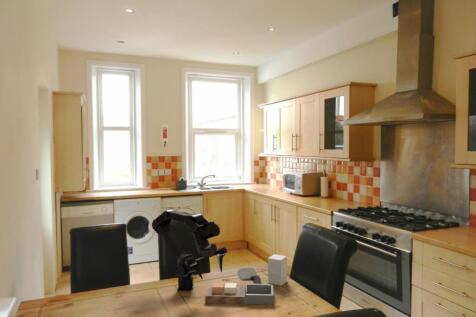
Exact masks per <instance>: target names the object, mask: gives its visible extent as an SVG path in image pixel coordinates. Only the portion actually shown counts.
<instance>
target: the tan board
mask: <svg viewBox="0 0 476 317" xmlns="http://www.w3.org/2000/svg"><path fill="white" fill-rule="evenodd" d="M212 286H213V284H209V285H208V287H207V290H206V293H205V295H204V303H205V304H234V305H235V304H237V305H245V304H246V294H247V285H237V290H236V293H224V292H223V293H212Z"/></svg>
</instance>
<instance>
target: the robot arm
mask: <svg viewBox="0 0 476 317" xmlns="http://www.w3.org/2000/svg"><path fill="white" fill-rule="evenodd" d="M173 221H176V222H180V223H183V224H184V225H185V226H186V227H188V228H190V231H189V235H193V238H194V242H195V246H196V249H197V252H198V256H197V257H195V256H193V254H192V253H190V254H188V253H186V252H185V250H184V248H183V247H182V245H181V244H180V242H179V241H178V239H177V237H176V235H174V233H173V231H172V225H171V223H172V222H173ZM151 228H152V229H153V231H154V232H155V233H156V234H157V235H159V236H161V237H162V238H163V239H164V241H165V243H166V245H167V247H169V249H170V251H171V253H172V254H173V256H174V257H175V259H176V267H177V269H176V270H175V271H174V276H175V277H176V278H177V280H178V282H177V283H178V284H177V285H178V287H177V291H189V292H190V291H192V289H193V288H194V285H195V284H194V282H195V281H194V276H193V275H194V274H196V273H197V275H198V276H199V278H200V279H201V280H203V276H202V273H201V270H200V268H199V266H198V262H200V261H203V260H206V259H208V258H211V257H214V256H216V259H217V263H218V267H219V270H220V273H223V259H224V257H225V256H226V254H228V250H227V247H226V246H222V247H219V248H218V247H217V245H216V243H215V242H214V243H211V244H210V242H209V239H213V238H215V237H218V236H219V235H220V233H221V228H220V227H219V225H218V224H217V223H215V221H214V220H212V221H208V220H207V219H206V218H205V217H204V216H203V214H202V213H185V212H182V211H176V210H174V209H167V210H166V209H165V210H164V211H163V212H162V213H161V214H159V215H158V216H157V217H156V218H154V219H153V220H152V221H151Z"/></svg>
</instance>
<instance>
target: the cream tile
mask: <svg viewBox="0 0 476 317" xmlns="http://www.w3.org/2000/svg"><path fill="white" fill-rule="evenodd" d="M237 286H238V285H237V282H236V283H235V282H225V287H224V293H236V290H237Z"/></svg>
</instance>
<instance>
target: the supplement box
mask: <svg viewBox="0 0 476 317" xmlns="http://www.w3.org/2000/svg"><path fill="white" fill-rule="evenodd" d="M267 282H268V283H267V284H273V285H276V286H279V287H280V286H283V285H284V284H285V283H287V282H288V257H287V256H286V255H281V254H276V253H275V254H272V255H270V256H269V257H268V258H267Z"/></svg>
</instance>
